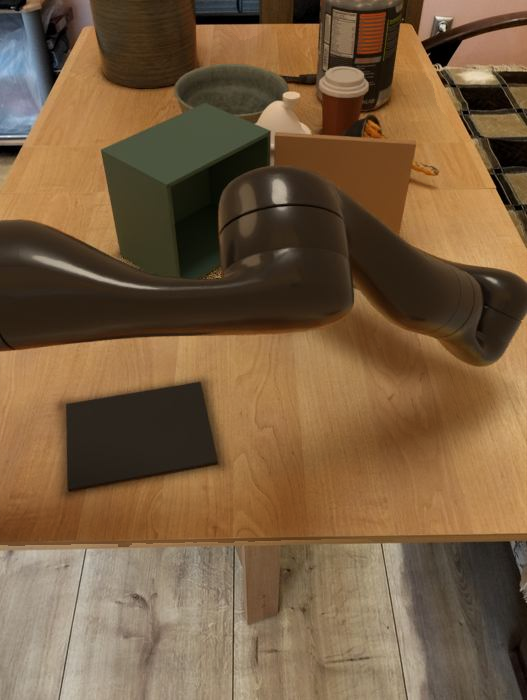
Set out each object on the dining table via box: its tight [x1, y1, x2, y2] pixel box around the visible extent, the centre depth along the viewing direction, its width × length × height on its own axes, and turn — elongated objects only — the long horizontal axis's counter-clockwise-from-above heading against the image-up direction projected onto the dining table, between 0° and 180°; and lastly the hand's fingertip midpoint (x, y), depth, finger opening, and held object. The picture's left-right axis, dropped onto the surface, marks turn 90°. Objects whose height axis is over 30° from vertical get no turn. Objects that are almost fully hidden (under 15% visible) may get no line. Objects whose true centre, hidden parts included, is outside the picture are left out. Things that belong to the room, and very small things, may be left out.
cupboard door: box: [274, 132, 417, 236], centre depth 95 cm, size 6×19×17 cm, turn 83°
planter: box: [88, 0, 199, 89], centre depth 139 cm, size 22×22×20 cm
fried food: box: [342, 113, 440, 177], centre depth 112 cm, size 9×11×18 cm
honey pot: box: [255, 91, 312, 166], centre depth 102 cm, size 13×13×18 cm
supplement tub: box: [315, 0, 404, 112], centre depth 127 cm, size 16×16×26 cm
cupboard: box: [100, 103, 271, 279], centre depth 93 cm, size 13×19×17 cm
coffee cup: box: [319, 66, 369, 136], centre depth 119 cm, size 9×9×12 cm
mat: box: [65, 381, 219, 493], centre depth 73 cm, size 16×12×1 cm
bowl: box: [173, 63, 290, 124], centre depth 120 cm, size 21×21×10 cm
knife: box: [278, 73, 317, 85], centre depth 142 cm, size 28×2×5 cm
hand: (254, 202), depth 84 cm, fingers closed on pill bottle, 5 cm apart
